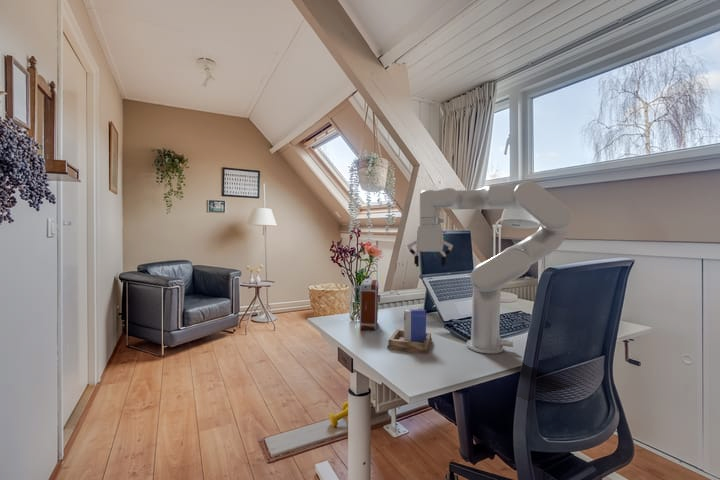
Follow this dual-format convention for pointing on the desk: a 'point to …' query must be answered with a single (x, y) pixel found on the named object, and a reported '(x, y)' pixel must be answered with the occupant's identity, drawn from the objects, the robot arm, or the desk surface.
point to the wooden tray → (408, 343)
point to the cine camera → (369, 304)
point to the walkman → (415, 325)
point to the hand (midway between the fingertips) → (429, 266)
